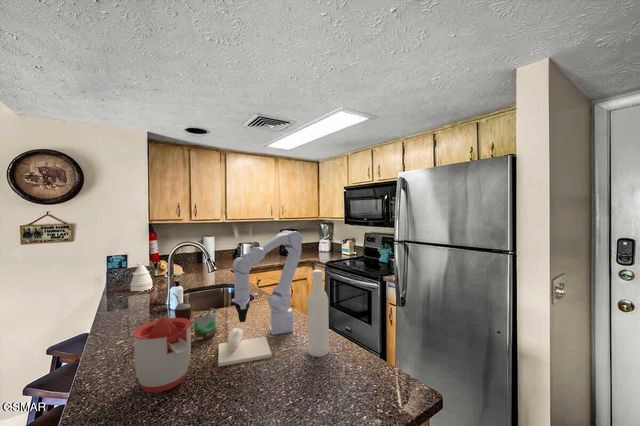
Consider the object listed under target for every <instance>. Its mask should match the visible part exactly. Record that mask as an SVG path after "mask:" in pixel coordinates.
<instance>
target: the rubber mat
mask: <svg viewBox="0 0 640 426" xmlns="http://www.w3.org/2000/svg"><path fill="white" fill-rule="evenodd" d="M217 353H218V355H217V356H218V358H217V367H218V368H219V367H223V366H230V365H236V364H241V363H242V364H243V363H248V362H252V361H258V360H264V359H269V358H270V359H271V358H272V355H273V354H272V351H271V348H270V345H269V343H268V339H267V336H262V337H261V336H260V337H255V338H249V339H248V338H247V339H241V341H240V343H239V344H238V346H237V347H236V349H235V350H234V351H229V350H228V341H227V342H222V343H218V352H217Z"/></svg>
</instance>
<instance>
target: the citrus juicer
mask: <svg viewBox="0 0 640 426" xmlns="http://www.w3.org/2000/svg"><path fill="white" fill-rule="evenodd" d="M191 326H192V321H191V319H190V320H188V319H185V318H176V317H165V316H163V317H161V318H160V319H158V320H154V321H150V322H147V323H144V324H142V325H140V326H138V327H137V328H136V329H134V331H133V334H132V336H133V337H134V338H133V340H134V343H133V345H134V350H133V351H134V369H135V374H136V377H137V380H138V383H139V385H140V387H141V389H142V391H144V392H146V393H152V394H153V393H162V392H164V391H169V390H171V389H173V388H175V387H177V386H179V385H180V384H181V383H182V382H183V381H184V379H186V375H187V373H188V370H189V364H190V360H191V355H192V354H191V353H192V352H191V351H192V348H191V347H192V346H191V344H192V340H191V335H192V334H191V333H192V332H191Z"/></svg>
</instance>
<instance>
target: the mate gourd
mask: <svg viewBox="0 0 640 426" xmlns="http://www.w3.org/2000/svg"><path fill="white" fill-rule="evenodd" d="M171 294H172V295H174V296H175V298H176V300H177V303H178V304H176V306H175V308H174V316H175V317H174V318H185V319H188V320H190V321H191V316H192V307H191V304H190V303H189V302H180V300H179V296H178V295H177V294H175V293H174V292H173V293H171Z"/></svg>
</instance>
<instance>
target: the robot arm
mask: <svg viewBox="0 0 640 426" xmlns="http://www.w3.org/2000/svg"><path fill="white" fill-rule="evenodd" d="M303 241H304V240H303V237H302V234H301V233H300V232H299V231H297V230H294V231H292V230H282V231H281V232H279V233H277V234H276V236H274V237H273V238H272V239H270V240H269V241H268V242H266V243H265V244H264V245H262V246H261V247H260V246H253V247H251V250H249V251H248V252H247V253H243V254H242V255H241V256H240V257H238V256H237V257H235V259H233V262H232V264H231V268H232V270H233V272H234V298H232V299H231V302H232V303H234V308H235V309H236V312H237V315H238V316H237V317H238V320H239V323H245V322H246V319H247V315H248V314H247V313H248V311H249V309H250V306H251V305H250V300H251V298H250V271H251V270H252V267H254V266H255V265H256V264H258V263H260V262H261V261H262V260H263V259H265V257H266V254H268V253H269V252H270V251H272V250H274V249H275V248H278V247H279V246H282V245H283V246H284V247H285V248H286V250H287V252H288V253H287V257H286V260H285V263H284V266H283V269H282V270H281V271H282V272H281V275H280V277H279V279H278V283H277V286H276V287H274V288H273V290H272V292H271V294H269V296H268V298H267V304H268V305H269V306H270V326H269V327H268V329H269V331H270V333H271V335H272V336H274V335H280V334H286V333H287V334H288V333H293V332H294V331H295V330H294V313H293V309H292V308H290V307H291V304H292V303H291V298H292V293H291V291H290V288H291V286H292V283H293V279H294V277H295V273H296V271H297V267H298V264H299V261H300V258H301V256H302V243H303Z"/></svg>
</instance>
